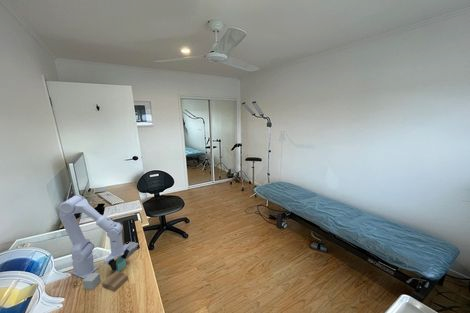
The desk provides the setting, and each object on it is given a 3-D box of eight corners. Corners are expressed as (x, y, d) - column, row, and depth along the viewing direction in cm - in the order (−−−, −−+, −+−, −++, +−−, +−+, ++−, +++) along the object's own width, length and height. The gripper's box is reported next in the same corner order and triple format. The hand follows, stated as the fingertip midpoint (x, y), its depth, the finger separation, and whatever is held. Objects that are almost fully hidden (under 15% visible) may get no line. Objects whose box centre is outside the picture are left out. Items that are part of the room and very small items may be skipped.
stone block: (114, 259, 117) (127, 259, 115) (112, 252, 117) (125, 252, 114) (128, 247, 129) (140, 247, 126) (126, 241, 128) (139, 240, 126)
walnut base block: (102, 287, 96) (102, 282, 95) (116, 275, 103) (116, 270, 103) (114, 292, 93) (113, 287, 93) (128, 279, 101) (127, 274, 100)
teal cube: (112, 270, 106) (111, 262, 105) (119, 264, 111) (119, 256, 110) (118, 272, 105) (117, 265, 104) (126, 266, 110) (125, 258, 109)
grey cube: (83, 289, 95) (82, 280, 94) (91, 280, 99) (90, 272, 98) (93, 289, 94) (91, 281, 93) (100, 281, 99) (99, 273, 98)
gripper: (109, 255, 97) (112, 277, 100) (132, 239, 111) (134, 259, 113) (100, 252, 99) (102, 274, 102) (123, 236, 113) (125, 256, 115)
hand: (119, 266), depth 108 cm, fingers open, 6 cm apart
